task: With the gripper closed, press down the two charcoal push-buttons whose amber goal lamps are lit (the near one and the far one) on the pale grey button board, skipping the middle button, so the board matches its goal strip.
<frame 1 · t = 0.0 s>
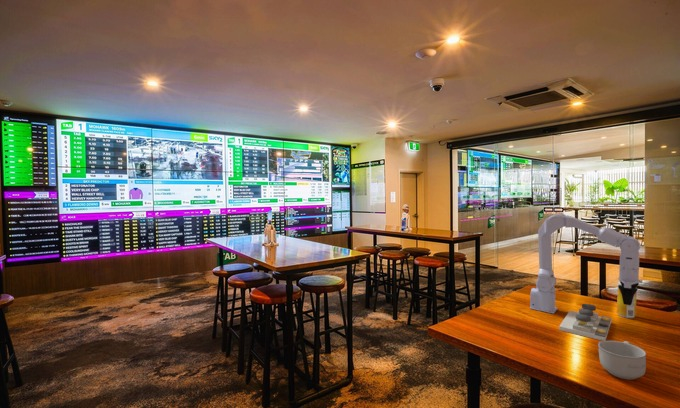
hand: (627, 302, 129), 10 cm above the table, fingers open, 7 cm apart
button B: (586, 314, 130), point 5 cm above the table, slide at 0.0 cm
button C: (588, 308, 135), point 5 cm above the table, slide at 0.0 cm
button A: (583, 319, 125), point 5 cm above the table, slide at 0.0 cm
board: (585, 326, 130), on the table
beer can: (626, 316, 140), on the table
light grey bowl: (623, 372, 98), on the table
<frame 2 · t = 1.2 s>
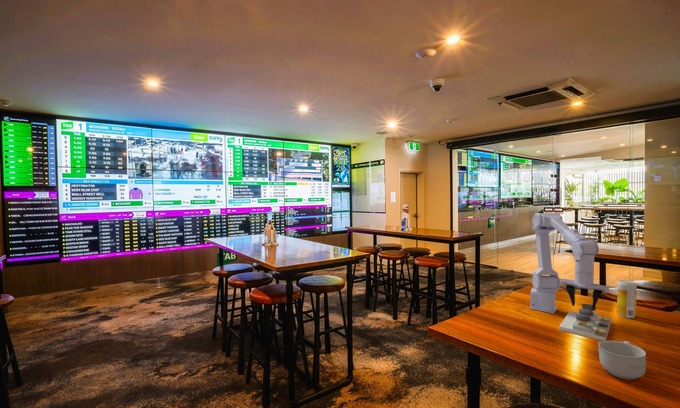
hand: (583, 307, 124), 10 cm above the table, fingers open, 6 cm apart
nothing on the table moved.
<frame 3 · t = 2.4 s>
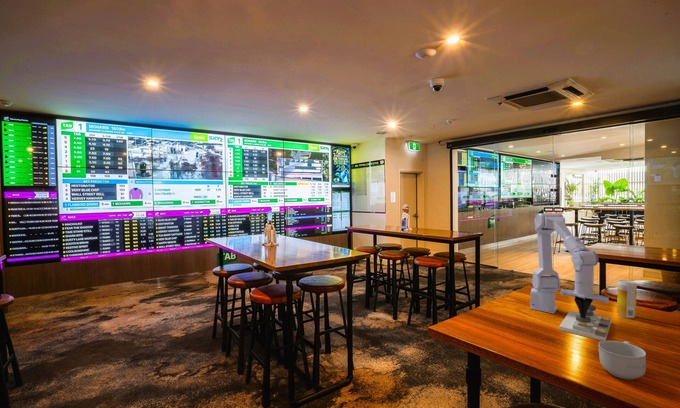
hand: (583, 317, 125), 6 cm above the table, fingers closed, pressing on button A
button A: (583, 320, 125), point 5 cm above the table, slide at 0.3 cm, touching gripper
everything else where it was.
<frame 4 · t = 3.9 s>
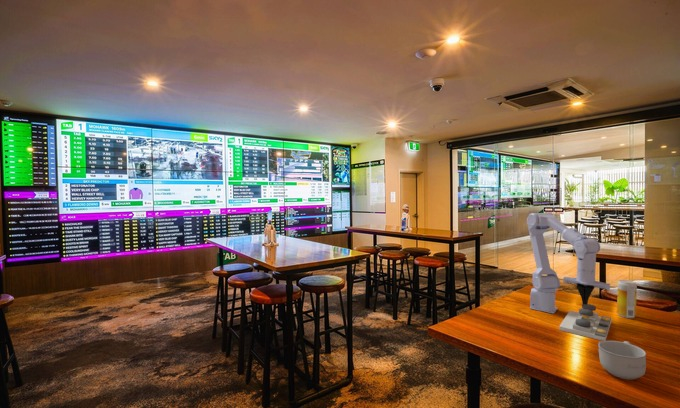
hand: (585, 303, 128), 10 cm above the table, fingers closed
button A: (582, 324, 125), point 3 cm above the table, slide at 2.0 cm
everything else where it was.
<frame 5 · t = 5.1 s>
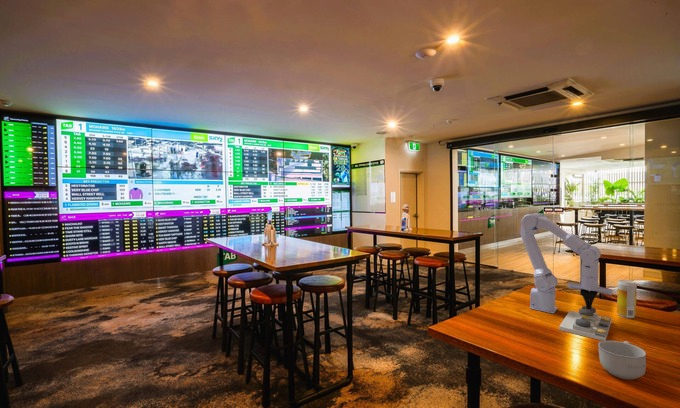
hand: (588, 308, 135), 5 cm above the table, fingers closed, pressing on button C
button C: (588, 311, 135), point 4 cm above the table, slide at 1.0 cm, touching gripper
everything else where it was.
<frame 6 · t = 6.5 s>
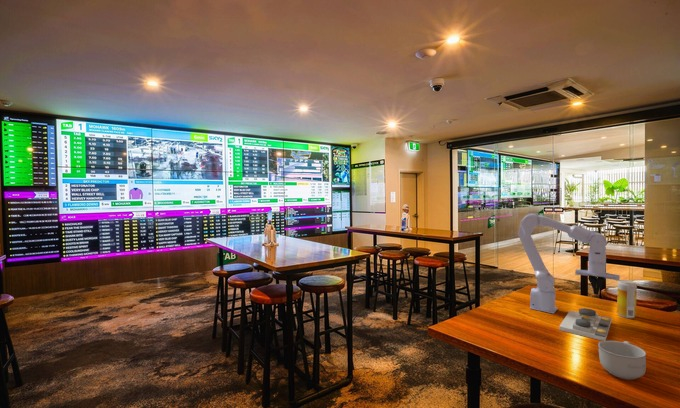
hand: (596, 294, 137), 10 cm above the table, fingers closed
button C: (588, 313, 135), point 3 cm above the table, slide at 2.0 cm
everything else where it was.
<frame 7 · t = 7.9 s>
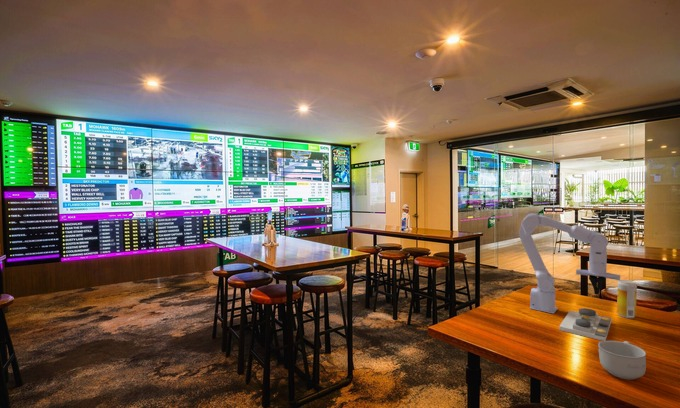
hand: (596, 293, 138), 10 cm above the table, fingers closed
nothing on the table moved.
at the end: button A slide at 2.0 cm; button C slide at 2.0 cm; button B slide at 0.0 cm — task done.
